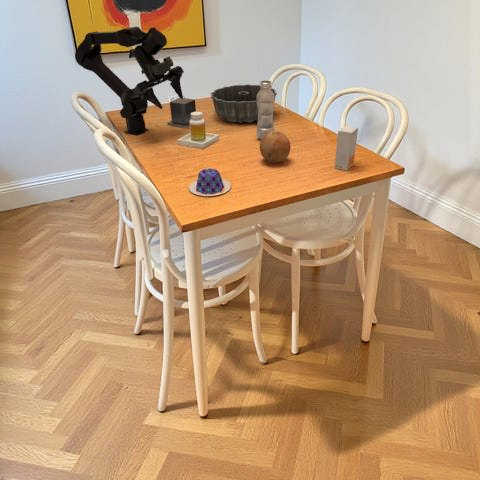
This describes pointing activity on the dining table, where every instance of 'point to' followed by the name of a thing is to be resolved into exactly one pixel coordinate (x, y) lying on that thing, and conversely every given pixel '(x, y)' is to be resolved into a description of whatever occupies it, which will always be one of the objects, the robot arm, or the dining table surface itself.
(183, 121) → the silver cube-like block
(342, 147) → the skincare box
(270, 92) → the plastic bottle
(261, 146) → the onion
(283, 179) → the dining table surface
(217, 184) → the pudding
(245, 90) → the bundt pan
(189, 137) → the white tray
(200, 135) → the supplement bottle
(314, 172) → the dining table surface
